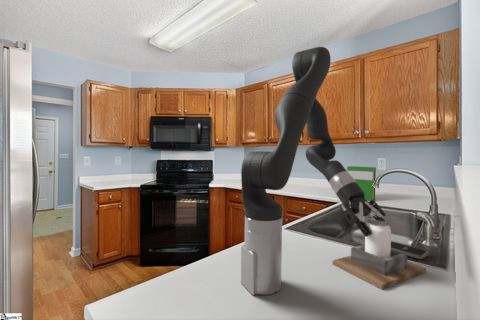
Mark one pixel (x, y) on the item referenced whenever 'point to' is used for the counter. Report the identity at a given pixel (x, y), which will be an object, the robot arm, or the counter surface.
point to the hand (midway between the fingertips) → (378, 233)
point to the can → (378, 239)
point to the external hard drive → (409, 251)
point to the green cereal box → (364, 179)
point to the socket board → (379, 267)
